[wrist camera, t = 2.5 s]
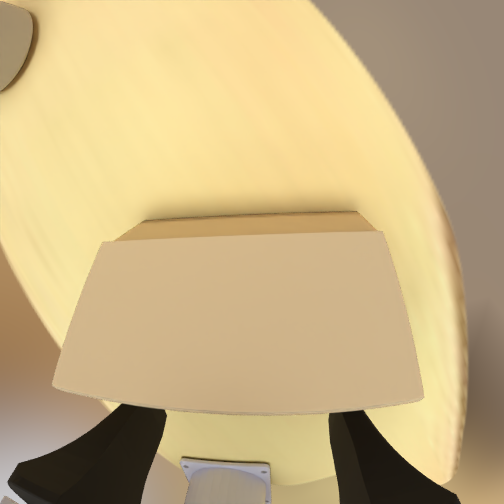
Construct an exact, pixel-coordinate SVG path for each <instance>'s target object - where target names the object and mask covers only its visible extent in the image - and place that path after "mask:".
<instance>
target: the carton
mask: <svg viewBox="0 0 504 504" xmlns="http://www.w3.org/2000/svg"><path fill="white" fill-rule="evenodd" d="M367 231H377V230H376V229H375V228H374V227H373V226H372V225H371V224H370V223H369V222H368V221H367V220H366V219H365V218H363V217H362V216H361V215H360V214H359V213H358V212H357V211H350V212H304V213H274V214H249V215H228V216H209V217H191V218H175V219H160V220H146V221H143V222H141V223H140V224H138V225H137V226H135V227H134V228H132V229H131V230H129V231H128V232H126V233H125V234H123V235H122V236H120V237H119V238H117V239H116V240H114V241H130V240H149V239H169V238H191V237H213V236H238V235H265V234H294V233H327V232H367Z"/></svg>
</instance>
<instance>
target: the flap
mask: <svg viewBox="0 0 504 504" xmlns="http://www.w3.org/2000/svg"><path fill="white" fill-rule="evenodd" d="M52 386H54V387H55V388H57V389H58V390H62V391H65V392H69V393H74V394H78V395H83V396H87V397H92V398H96V399H101V400H106V401H112V402H117V403H123V404H129V405H135V406H142V407H149V408H157V409H165V410H174V411H184V412H195V413H209V414H227V415H304V414H322V413H336V412H347V411H357V410H366V409H374V408H381V407H388V406H395V405H401V404H407V403H413V402H418V401H420V400H421V399H423V398H424V392H423V386H422V380H421V375H420V369H419V364H418V359H417V354H416V349H415V345H414V340H413V336H412V331H411V327H410V323H409V319H408V315H407V311H406V307H405V303H404V299H403V295H402V292H401V288H400V284H399V281H398V277H397V274H396V271H395V267H394V264H393V261H392V257H391V254H390V251H389V248H388V245H387V242H386V239H385V236H384V233H383V231H367V232H327V233H294V234H265V235H238V236H213V237H191V238H169V239H149V240H130V241H111V242H102V244H101V246H100V249H99V251H98V253H97V255H96V258H95V260H94V263H93V265H92V267H91V270H90V272H89V275H88V277H87V280H86V282H85V285H84V287H83V290H82V292H81V295H80V298H79V300H78V303H77V306H76V309H75V311H74V314H73V317H72V320H71V323H70V326H69V329H68V332H67V335H66V338H65V341H64V344H63V347H62V350H61V354H60V357H59V360H58V364H57V367H56V371H55V374H54V379H53V382H52Z"/></svg>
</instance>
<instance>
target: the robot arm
mask: <svg viewBox="0 0 504 504" xmlns="http://www.w3.org/2000/svg"><path fill="white" fill-rule="evenodd" d="M166 418H167V415H166V412H165V409H157V408H149V407H142V406H135V405H129V404H123V403H122V404H121V405H120V406H119V407H117V408H116V409H115V410H114V411H113V412H112V413H111V414H110V415H109V416H107V417H106V418H105V419H104V420H103V421H101V422H100V423H99V424H98V425H97V426H96V427H94V428H93V429H91V430H90V431H88V432H87V433H86V434H84V435H83V436H81V437H79V438H78V439H76V440H75V441H73V442H71V443H69V444H67V445H66V446H64V447H62V448H60V449H58V450H56V451H53V452H51V453H49V454H46V455H44V456H41V457H38V458H35V459H32V460H28V461H25V462H21V463H19V464H18V465H17V467H16V468H15V470H14V472H13V473H12V475H11V476H10V478H9V480H8V485H9V487H10V488H11V489H12V490H13V491H14V492H15V493H16V494H18V496H19V497H20V498H22V499H23V500H24V501H25V502H26V503H27V504H141V499H142V494H143V490H144V485H145V481H146V479H147V475H148V473H149V470H150V467H151V465H152V462H153V459H154V457H155V454H156V452H157V449H158V446H159V444H160V441H161V438H162V435H163V431H164V427H165V422H166ZM329 434H330V444H331V449H332V454H333V459H334V465H335V470H336V475H337V481H338V486H339V497H340V504H461V503H460V501H459V499H458V497H457V495H456V494H454V493H452V492H450V491H449V490H447V489H445V488H443V487H441V486H440V485H438V484H436V483H435V482H433V481H432V480H430V479H429V478H427V477H426V476H425V475H423V474H422V473H421V472H419V471H418V470H417V469H416V468H414V467H413V466H412V465H411V464H409V463H408V462H407V461H406V460H405V459H404V458H403V457H402V456H401V455H400V454H399V453H398V452H397V451H396V450H395V449H394V448H393V447H392V446H391V445H390V444H389V443H388V442H387V441H386V439H385V438H384V437H383V436H382V435H381V433H380V432H379V431H378V430H377V428H376V427H375V426H374V424H373V423H372V422H371V420H370V419H369V417H368V416H367V415H366V413H365V412H364V410H357V411H347V412H336V413H329ZM180 465H181V467H182V469H183V471H184V473H185V475H186V478H187V480H188V482H189V487H188V491H187V495H186V499H185V503H184V504H271V480H270V466H269V465H268V464H256V463H231V462H216V461H205V460H195V459H187V458H182V459H180ZM0 504H18V503H17V502H15V501H13V500H12V499H10V498H8V497H7V496H4V498H3V499H2V501H1V503H0Z"/></svg>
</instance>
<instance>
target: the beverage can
mask: <svg viewBox="0 0 504 504" xmlns="http://www.w3.org/2000/svg"><path fill="white" fill-rule="evenodd" d="M32 33H33V22H32V18H31V15H30V14H29V12H28V11H27V10H25V9H23V8H20V7H17V6H15V5H12V4H9V3H5V2H2V1H0V91H1V90H3V89H4V88H5V87H6V86H7V85H8V84H9V83H10V82H11V81H12V80H13V78H14V77H15V76H16V74H17V73H18V72H19V70H20V69H21V67H22V65H23V63H24V61H25V59H26V57H27V54H28V52H29V48H30V44H31V39H32Z"/></svg>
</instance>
